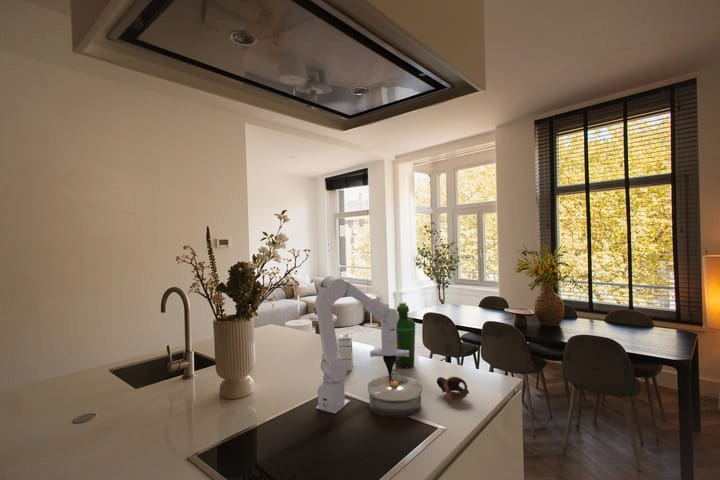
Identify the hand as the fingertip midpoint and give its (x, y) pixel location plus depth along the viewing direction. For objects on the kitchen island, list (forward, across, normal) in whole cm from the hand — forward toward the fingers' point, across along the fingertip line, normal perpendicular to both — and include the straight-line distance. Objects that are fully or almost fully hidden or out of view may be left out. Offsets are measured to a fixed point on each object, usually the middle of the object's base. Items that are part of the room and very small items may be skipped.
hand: (390, 375), depth 130 cm
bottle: (+6, -6, -24) cm, 26 cm away
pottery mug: (+6, -22, +5) cm, 23 cm away
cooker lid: (0, -2, +9) cm, 9 cm away
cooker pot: (+5, -3, +9) cm, 11 cm away
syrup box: (+6, +19, -21) cm, 29 cm away
